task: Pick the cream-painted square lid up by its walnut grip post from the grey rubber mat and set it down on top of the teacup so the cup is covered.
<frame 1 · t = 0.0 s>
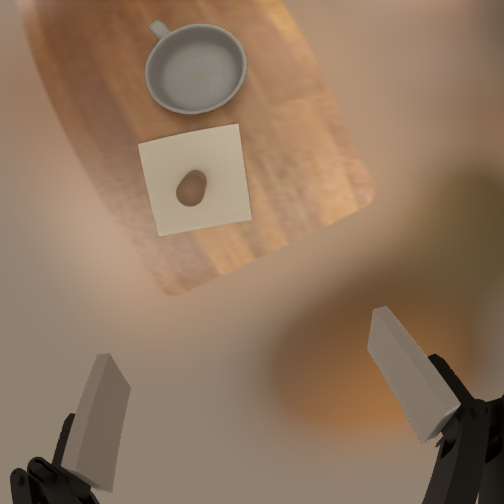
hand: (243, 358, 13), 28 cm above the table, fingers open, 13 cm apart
teacup: (194, 70, 30), on the table
lid: (195, 180, 36), resting on mat
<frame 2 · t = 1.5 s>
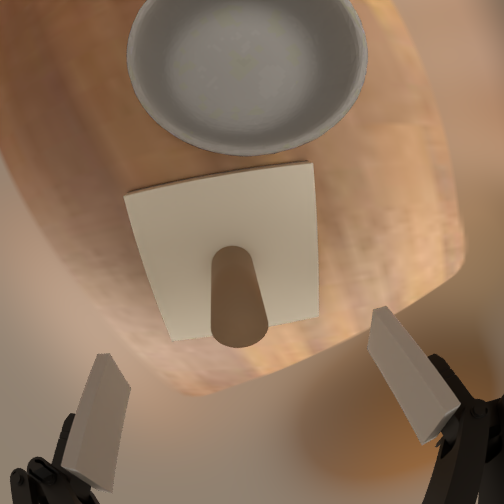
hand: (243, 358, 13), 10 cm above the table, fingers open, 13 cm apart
teacup: (227, 54, 15), on the table
lid: (231, 258, 21), resting on mat
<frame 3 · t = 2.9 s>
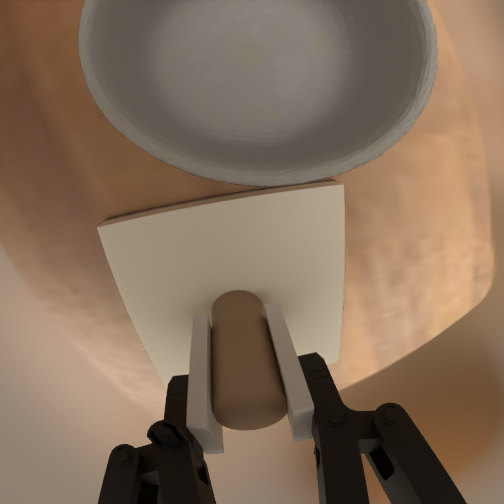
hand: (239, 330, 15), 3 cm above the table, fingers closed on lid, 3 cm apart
teacup: (231, 39, 11), on the table
mat: (236, 298, 17), on the table
lid: (236, 302, 17), resting on mat, touching gripper
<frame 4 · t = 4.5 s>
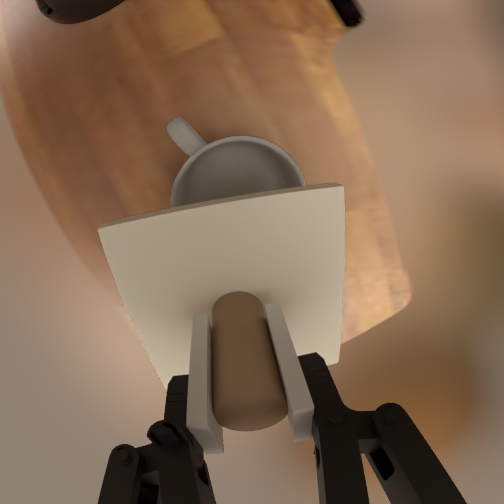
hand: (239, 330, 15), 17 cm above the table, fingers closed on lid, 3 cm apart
teacup: (227, 175, 28), on the table
lid: (236, 303, 17), point 14 cm above the table, touching gripper
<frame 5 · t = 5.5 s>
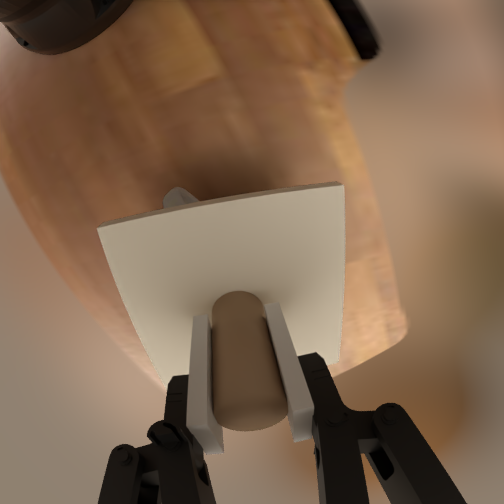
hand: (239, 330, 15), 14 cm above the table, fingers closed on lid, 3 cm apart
teacup: (228, 231, 28), on the table
lid: (236, 302, 17), point 12 cm above the table, touching gripper
when the fingers open (12 cm above the table, at t = 6.0 s): lid drops 2 cm, resting on teacup.
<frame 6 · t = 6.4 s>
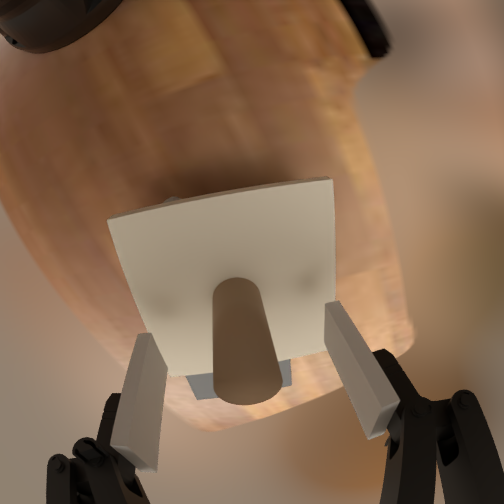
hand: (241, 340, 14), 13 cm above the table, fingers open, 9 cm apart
mat: (235, 361, 32), on the table
lid: (235, 289, 18), point 8 cm above the table, touching teacup
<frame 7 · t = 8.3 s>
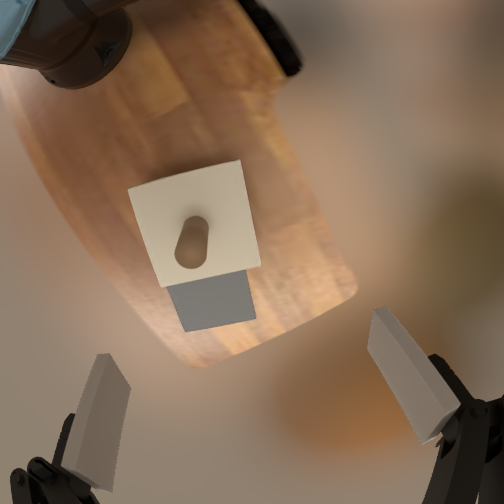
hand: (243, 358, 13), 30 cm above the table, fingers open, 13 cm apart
mat: (210, 295, 46), on the table
lid: (196, 225, 32), point 8 cm above the table, touching teacup
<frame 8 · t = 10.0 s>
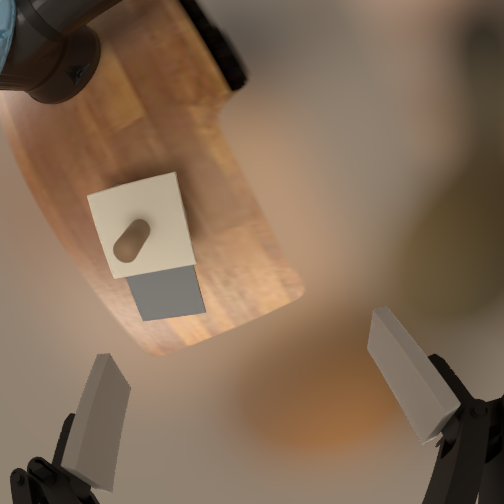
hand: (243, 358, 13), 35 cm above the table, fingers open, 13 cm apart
mat: (164, 288, 50), on the table
lid: (141, 227, 36), point 8 cm above the table, touching teacup
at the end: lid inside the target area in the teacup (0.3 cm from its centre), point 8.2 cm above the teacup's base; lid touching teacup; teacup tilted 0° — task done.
